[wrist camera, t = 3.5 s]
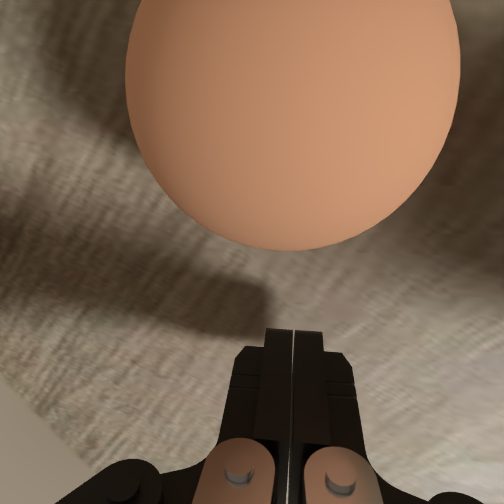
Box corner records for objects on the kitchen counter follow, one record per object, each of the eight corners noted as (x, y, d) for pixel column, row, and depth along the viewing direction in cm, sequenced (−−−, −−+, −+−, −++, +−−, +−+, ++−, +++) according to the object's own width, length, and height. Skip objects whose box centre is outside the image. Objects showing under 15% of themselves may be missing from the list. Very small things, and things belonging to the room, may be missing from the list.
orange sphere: (392, -103, 8) (535, -325, 3) (424, 166, 10) (537, 273, 5) (140, -8, 9) (-36, -70, 4) (216, 215, 11) (156, 341, 6)
